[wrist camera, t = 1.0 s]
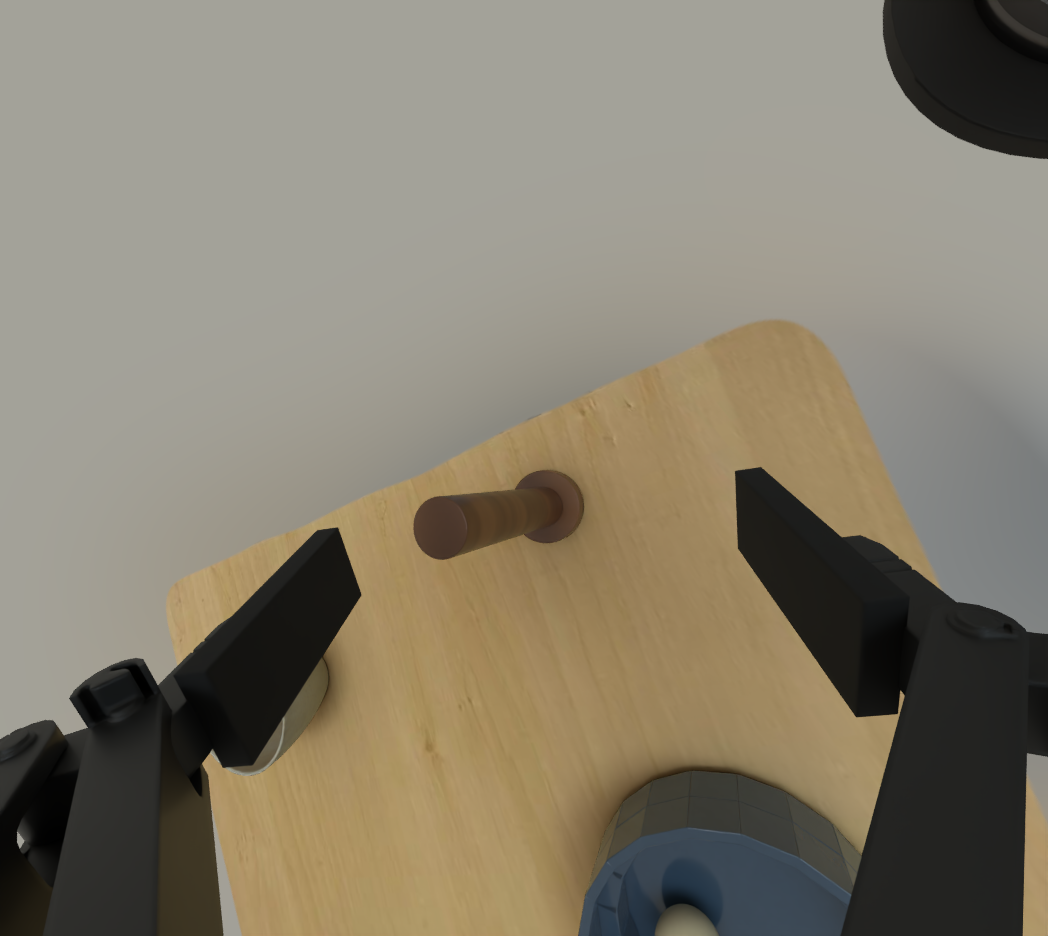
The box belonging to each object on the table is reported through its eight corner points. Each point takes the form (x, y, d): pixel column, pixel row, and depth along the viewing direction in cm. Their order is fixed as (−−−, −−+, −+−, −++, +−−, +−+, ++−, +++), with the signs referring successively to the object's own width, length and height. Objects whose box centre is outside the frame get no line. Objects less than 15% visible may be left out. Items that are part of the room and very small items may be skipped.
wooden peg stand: (564, 458, 35) (462, 449, 21) (596, 523, 34) (511, 560, 20) (506, 489, 37) (375, 500, 23) (534, 552, 36) (416, 604, 22)
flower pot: (253, 674, 46) (175, 708, 40) (299, 596, 44) (226, 618, 38) (316, 753, 43) (244, 804, 37) (369, 674, 41) (303, 713, 35)
